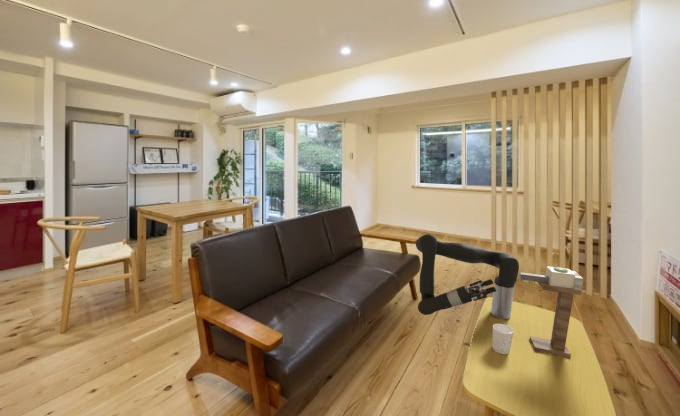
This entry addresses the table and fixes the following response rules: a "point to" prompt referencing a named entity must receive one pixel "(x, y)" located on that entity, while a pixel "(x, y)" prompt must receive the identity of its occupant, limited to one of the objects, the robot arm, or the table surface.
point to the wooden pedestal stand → (559, 319)
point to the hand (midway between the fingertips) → (493, 284)
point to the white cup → (502, 338)
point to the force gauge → (552, 277)
